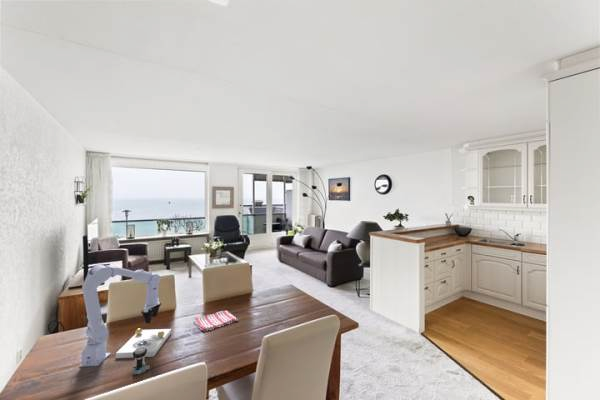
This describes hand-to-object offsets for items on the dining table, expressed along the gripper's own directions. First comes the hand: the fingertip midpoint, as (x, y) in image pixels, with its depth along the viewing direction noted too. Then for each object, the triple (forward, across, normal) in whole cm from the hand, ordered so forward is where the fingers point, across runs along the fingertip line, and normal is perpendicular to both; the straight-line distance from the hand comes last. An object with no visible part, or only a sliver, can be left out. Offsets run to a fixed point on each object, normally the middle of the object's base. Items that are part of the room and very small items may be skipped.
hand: (151, 319), depth 139 cm
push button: (+10, -29, -9) cm, 32 cm away
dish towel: (+10, +17, -32) cm, 37 cm away
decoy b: (+6, -5, -7) cm, 10 cm away
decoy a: (+6, -1, +6) cm, 8 cm away
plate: (+10, -7, -1) cm, 12 cm away
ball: (+8, -11, 0) cm, 14 cm away
